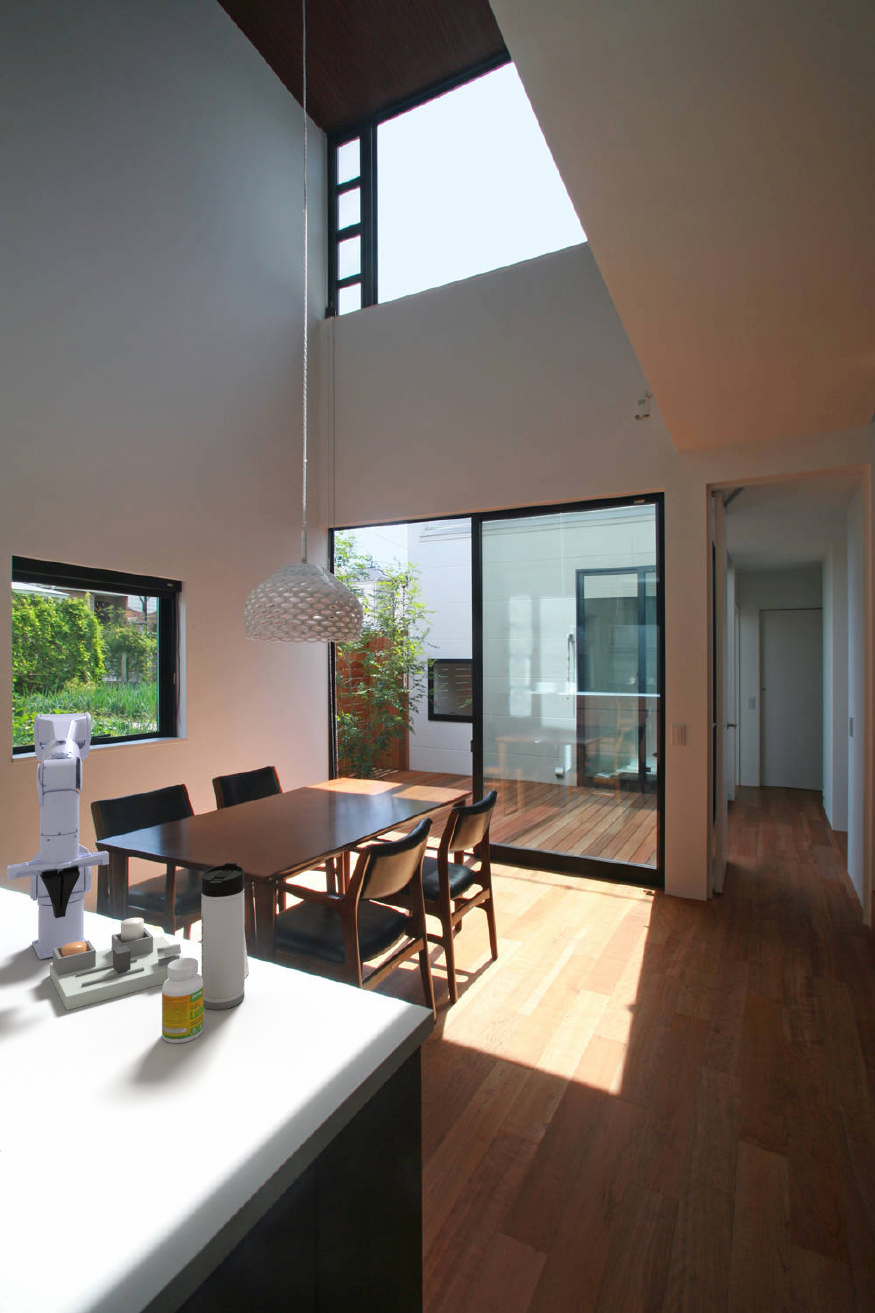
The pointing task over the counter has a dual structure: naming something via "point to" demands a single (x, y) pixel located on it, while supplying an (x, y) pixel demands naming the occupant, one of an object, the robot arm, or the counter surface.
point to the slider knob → (121, 959)
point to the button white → (132, 929)
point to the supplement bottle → (182, 1001)
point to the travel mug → (223, 936)
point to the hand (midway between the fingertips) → (59, 916)
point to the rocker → (169, 950)
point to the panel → (108, 971)
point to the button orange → (73, 948)
